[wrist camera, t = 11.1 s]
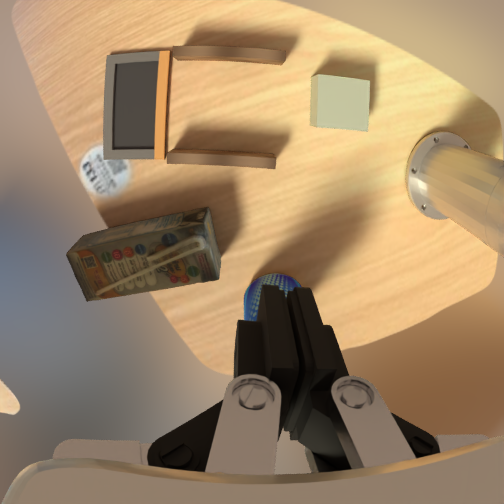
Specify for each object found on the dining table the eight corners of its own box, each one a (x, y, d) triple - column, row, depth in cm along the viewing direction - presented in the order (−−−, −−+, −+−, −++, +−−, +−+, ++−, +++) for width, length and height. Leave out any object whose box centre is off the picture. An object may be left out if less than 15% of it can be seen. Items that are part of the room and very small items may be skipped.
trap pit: (170, 51, 32) (169, 50, 31) (165, 158, 38) (164, 159, 37) (108, 56, 31) (106, 55, 31) (105, 158, 37) (103, 159, 36)
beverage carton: (224, 260, 44) (221, 286, 38) (100, 281, 45) (83, 306, 39) (210, 204, 40) (205, 222, 35) (81, 233, 41) (60, 253, 36)
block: (358, 82, 34) (370, 80, 31) (356, 128, 37) (367, 131, 33) (310, 77, 34) (318, 74, 30) (309, 125, 37) (316, 127, 33)
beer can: (299, 264, 44) (325, 341, 30) (304, 313, 48) (326, 394, 33) (238, 274, 45) (237, 354, 30) (249, 322, 48) (252, 406, 34)
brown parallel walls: (282, 55, 33) (285, 50, 29) (272, 163, 38) (275, 169, 35) (179, 51, 32) (173, 46, 29) (173, 158, 38) (166, 163, 34)
